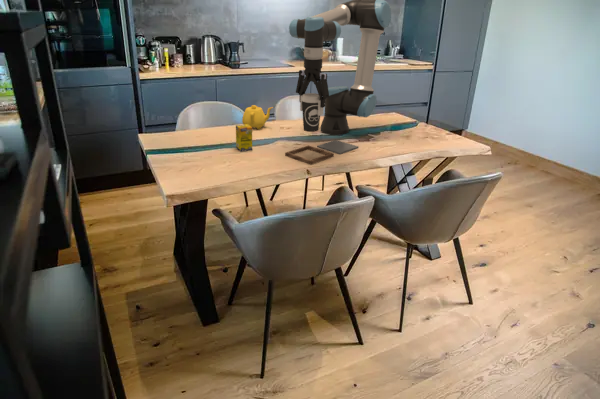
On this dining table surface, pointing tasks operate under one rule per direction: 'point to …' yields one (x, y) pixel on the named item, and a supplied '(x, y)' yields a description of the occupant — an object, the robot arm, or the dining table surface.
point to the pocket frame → (291, 155)
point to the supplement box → (243, 137)
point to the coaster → (337, 147)
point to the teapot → (255, 116)
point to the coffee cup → (310, 112)
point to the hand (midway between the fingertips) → (311, 112)
